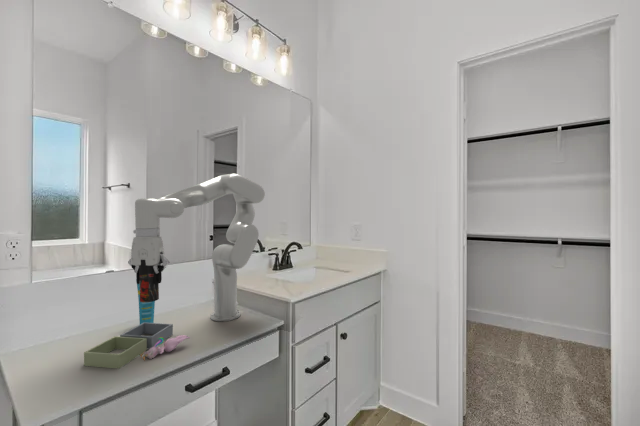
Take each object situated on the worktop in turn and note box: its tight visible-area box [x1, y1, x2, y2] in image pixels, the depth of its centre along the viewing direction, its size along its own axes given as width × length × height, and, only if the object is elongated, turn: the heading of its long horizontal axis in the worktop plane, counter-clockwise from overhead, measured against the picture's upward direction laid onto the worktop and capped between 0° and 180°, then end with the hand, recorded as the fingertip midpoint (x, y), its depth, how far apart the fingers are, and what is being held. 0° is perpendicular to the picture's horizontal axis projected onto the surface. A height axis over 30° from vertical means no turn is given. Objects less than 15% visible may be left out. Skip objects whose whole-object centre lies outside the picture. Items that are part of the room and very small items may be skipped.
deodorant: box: [139, 260, 160, 303], centre depth 109 cm, size 6×6×15 cm
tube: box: [135, 279, 156, 325], centre depth 123 cm, size 7×5×19 cm, turn 123°
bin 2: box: [119, 322, 174, 350], centre depth 109 cm, size 12×12×4 cm
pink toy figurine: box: [139, 334, 190, 362], centre depth 101 cm, size 6×6×15 cm
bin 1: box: [83, 335, 148, 369], centre depth 97 cm, size 12×12×4 cm
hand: (149, 282), depth 109 cm, fingers closed on deodorant, 5 cm apart
